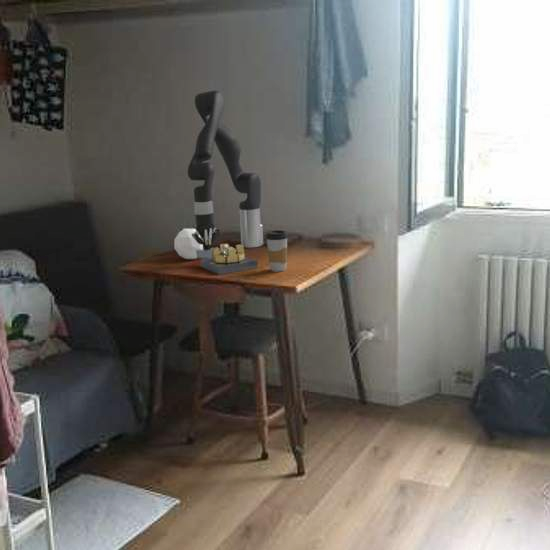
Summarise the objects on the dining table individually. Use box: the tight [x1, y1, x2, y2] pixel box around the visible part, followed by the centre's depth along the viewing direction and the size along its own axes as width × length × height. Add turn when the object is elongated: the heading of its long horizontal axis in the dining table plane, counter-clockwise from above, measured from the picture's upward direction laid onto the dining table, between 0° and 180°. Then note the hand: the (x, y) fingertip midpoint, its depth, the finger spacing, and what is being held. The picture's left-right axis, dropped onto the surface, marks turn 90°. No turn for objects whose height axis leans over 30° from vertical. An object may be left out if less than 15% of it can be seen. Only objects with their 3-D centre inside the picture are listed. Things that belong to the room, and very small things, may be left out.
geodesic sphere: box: [173, 227, 203, 260], centre depth 310 cm, size 14×14×14 cm
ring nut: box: [196, 243, 246, 263], centre depth 292 cm, size 21×12×5 cm, turn 64°
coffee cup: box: [265, 229, 288, 273], centre depth 282 cm, size 8×8×15 cm
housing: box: [200, 246, 259, 275], centre depth 291 cm, size 17×17×8 cm
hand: (207, 253), depth 298 cm, fingers closed
